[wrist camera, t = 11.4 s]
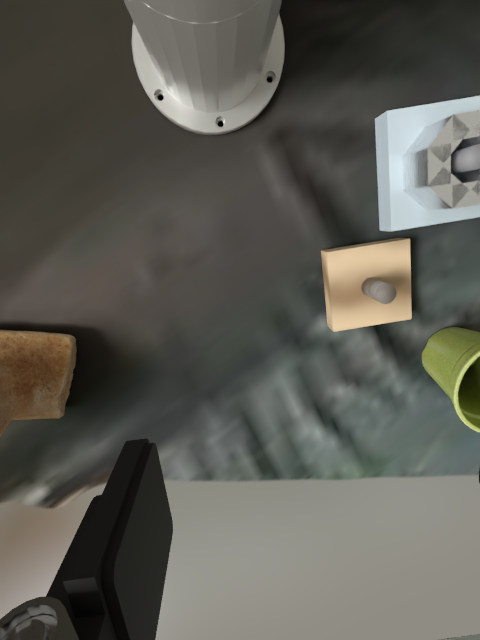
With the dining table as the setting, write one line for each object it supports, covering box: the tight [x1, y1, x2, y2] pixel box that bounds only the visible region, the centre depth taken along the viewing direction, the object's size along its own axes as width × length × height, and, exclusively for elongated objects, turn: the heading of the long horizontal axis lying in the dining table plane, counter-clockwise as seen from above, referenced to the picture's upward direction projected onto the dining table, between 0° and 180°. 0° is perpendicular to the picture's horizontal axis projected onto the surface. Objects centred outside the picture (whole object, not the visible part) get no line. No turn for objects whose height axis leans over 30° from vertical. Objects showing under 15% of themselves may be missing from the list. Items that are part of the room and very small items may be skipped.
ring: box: [402, 110, 480, 210], centre depth 29 cm, size 7×7×4 cm
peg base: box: [375, 96, 480, 231], centre depth 30 cm, size 10×10×7 cm
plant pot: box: [422, 327, 480, 432], centre depth 35 cm, size 9×9×9 cm
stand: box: [321, 238, 412, 332], centre depth 34 cm, size 8×8×6 cm
